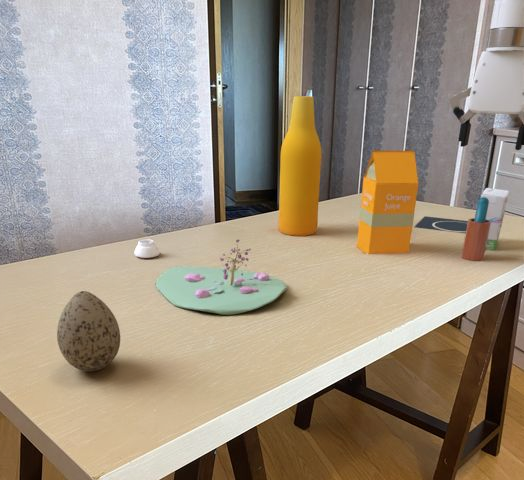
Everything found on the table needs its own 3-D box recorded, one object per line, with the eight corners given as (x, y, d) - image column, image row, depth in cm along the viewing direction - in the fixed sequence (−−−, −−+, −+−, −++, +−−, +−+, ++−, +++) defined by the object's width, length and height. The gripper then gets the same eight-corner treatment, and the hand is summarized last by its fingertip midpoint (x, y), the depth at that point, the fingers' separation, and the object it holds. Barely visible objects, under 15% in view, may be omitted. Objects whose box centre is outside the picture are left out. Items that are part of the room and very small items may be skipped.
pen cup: (483, 258, 108) (492, 219, 105) (481, 264, 105) (490, 224, 101) (462, 256, 110) (469, 217, 106) (459, 261, 106) (467, 221, 103)
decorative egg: (57, 362, 66) (43, 287, 62) (114, 350, 69) (104, 277, 65) (70, 388, 61) (56, 308, 56) (131, 373, 64) (122, 296, 59)
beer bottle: (270, 231, 126) (273, 95, 113) (294, 224, 132) (300, 95, 119) (300, 238, 120) (307, 97, 107) (324, 231, 126) (334, 96, 113)
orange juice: (408, 255, 110) (423, 152, 101) (368, 256, 109) (379, 153, 100) (394, 244, 117) (407, 148, 108) (356, 245, 115) (365, 148, 106)
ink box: (494, 252, 112) (507, 196, 107) (470, 249, 114) (481, 193, 109) (498, 243, 119) (510, 189, 114) (475, 240, 121) (485, 187, 116)
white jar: (145, 250, 110) (129, 257, 106) (144, 236, 109) (128, 242, 105) (165, 254, 108) (149, 260, 104) (163, 240, 106) (148, 246, 103)
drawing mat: (496, 225, 134) (497, 223, 134) (490, 240, 121) (491, 238, 121) (424, 217, 141) (424, 215, 141) (411, 230, 128) (411, 228, 128)
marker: (478, 257, 107) (490, 196, 102) (476, 259, 106) (489, 198, 100) (467, 255, 108) (479, 195, 103) (466, 258, 107) (478, 197, 101)
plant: (118, 293, 88) (112, 239, 84) (193, 261, 104) (191, 215, 100) (246, 326, 77) (246, 266, 73) (308, 285, 93) (311, 234, 89)
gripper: (568, 42, 90) (543, 149, 98) (463, 44, 98) (448, 143, 106) (564, 39, 84) (538, 152, 92) (454, 42, 92) (438, 146, 100)
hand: (490, 147), depth 99 cm, fingers open, 9 cm apart
